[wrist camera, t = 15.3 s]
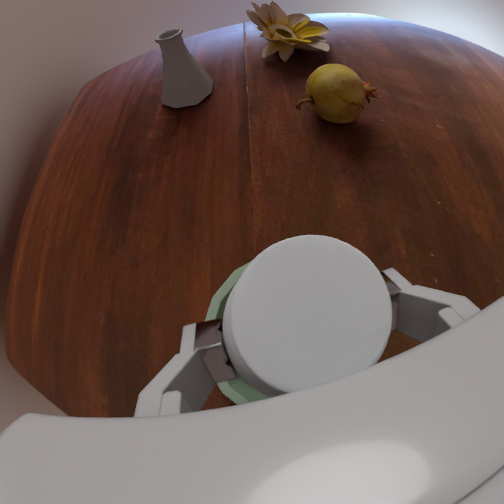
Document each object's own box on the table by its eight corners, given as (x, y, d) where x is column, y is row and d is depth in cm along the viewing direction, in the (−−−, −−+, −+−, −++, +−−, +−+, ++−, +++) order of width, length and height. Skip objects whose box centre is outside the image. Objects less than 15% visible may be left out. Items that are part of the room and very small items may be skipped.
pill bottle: (235, 372, 15) (175, 399, 6) (253, 284, 16) (224, 196, 7) (329, 387, 14) (399, 430, 5) (344, 297, 16) (418, 227, 7)
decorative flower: (326, 71, 29) (312, 4, 21) (249, 73, 34) (226, 15, 26) (340, 38, 35) (330, -11, 26) (279, 40, 39) (264, -5, 31)
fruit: (310, 103, 22) (398, 94, 22) (284, 55, 23) (368, 49, 23) (301, 139, 29) (377, 126, 29) (281, 93, 29) (353, 83, 29)
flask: (176, 78, 34) (158, 25, 25) (221, 79, 33) (209, 19, 23) (153, 109, 32) (127, 52, 23) (201, 110, 31) (181, 44, 21)
